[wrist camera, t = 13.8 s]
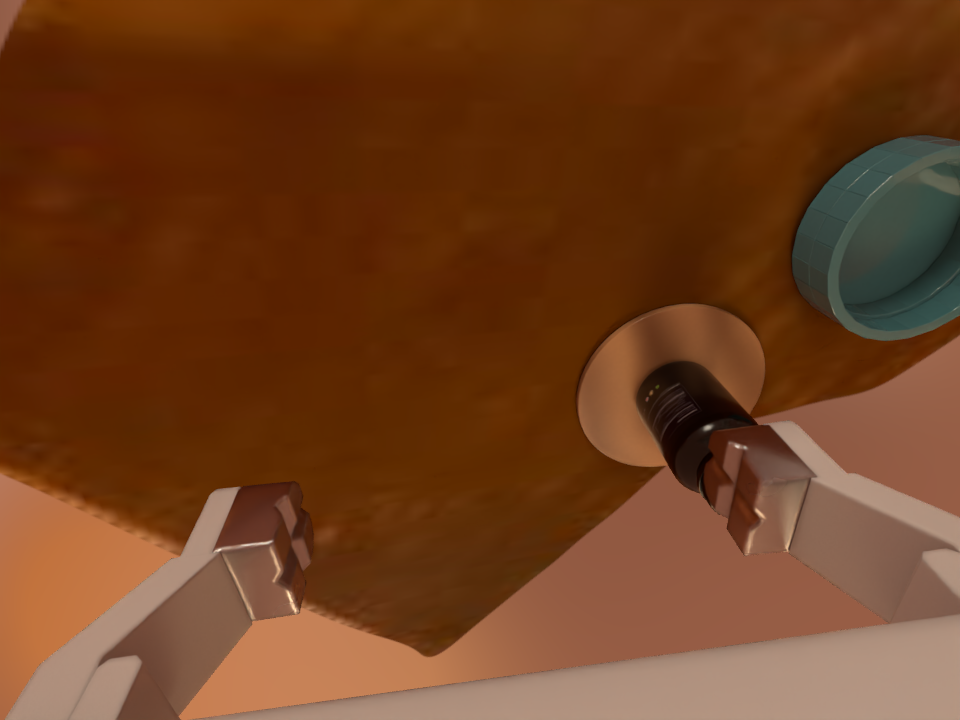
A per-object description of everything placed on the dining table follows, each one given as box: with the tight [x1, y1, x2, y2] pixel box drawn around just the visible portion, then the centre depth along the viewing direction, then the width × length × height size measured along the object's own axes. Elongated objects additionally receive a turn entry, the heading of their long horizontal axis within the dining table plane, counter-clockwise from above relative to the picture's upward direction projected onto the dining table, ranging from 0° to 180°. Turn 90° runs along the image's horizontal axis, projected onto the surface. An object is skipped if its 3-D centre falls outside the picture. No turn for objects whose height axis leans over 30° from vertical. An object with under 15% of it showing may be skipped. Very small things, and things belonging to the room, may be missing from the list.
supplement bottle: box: [636, 361, 758, 516], centre depth 40 cm, size 7×7×12 cm
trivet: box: [576, 304, 765, 467], centre depth 46 cm, size 16×16×1 cm
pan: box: [792, 135, 960, 341], centre depth 39 cm, size 14×14×4 cm
